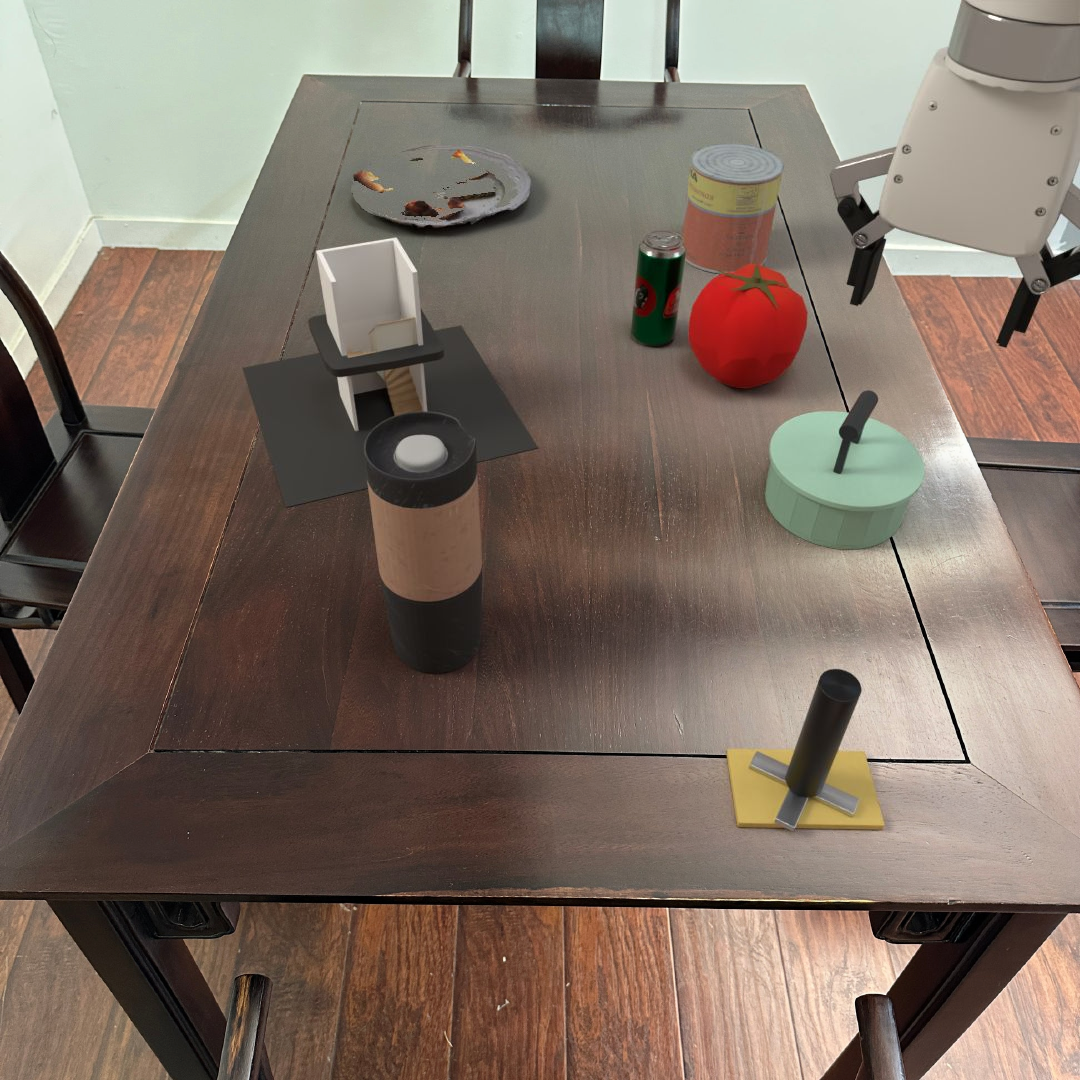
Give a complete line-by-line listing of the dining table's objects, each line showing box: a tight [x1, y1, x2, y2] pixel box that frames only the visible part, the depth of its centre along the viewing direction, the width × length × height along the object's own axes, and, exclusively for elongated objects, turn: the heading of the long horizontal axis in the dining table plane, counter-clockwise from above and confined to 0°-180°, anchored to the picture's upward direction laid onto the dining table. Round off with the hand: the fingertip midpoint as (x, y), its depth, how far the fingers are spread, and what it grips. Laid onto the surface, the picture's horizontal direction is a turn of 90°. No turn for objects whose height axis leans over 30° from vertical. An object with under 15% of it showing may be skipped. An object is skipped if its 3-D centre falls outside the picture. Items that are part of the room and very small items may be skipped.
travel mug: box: [364, 411, 483, 674], centre depth 71 cm, size 8×8×20 cm
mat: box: [726, 748, 885, 831], centre depth 68 cm, size 10×6×1 cm, turn 89°
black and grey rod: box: [749, 668, 863, 832], centre depth 64 cm, size 8×8×12 cm
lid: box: [768, 389, 926, 511], centre depth 85 cm, size 14×14×6 cm
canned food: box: [681, 142, 785, 275], centre depth 121 cm, size 11×11×12 cm
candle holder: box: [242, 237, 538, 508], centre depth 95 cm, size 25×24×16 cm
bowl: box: [764, 462, 912, 550], centre depth 89 cm, size 13×13×5 cm
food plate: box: [352, 145, 532, 229], centre depth 135 cm, size 25×23×4 cm
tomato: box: [687, 264, 808, 389], centre depth 102 cm, size 12×13×12 cm
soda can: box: [630, 229, 686, 347], centre depth 107 cm, size 5×5×12 cm
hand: (931, 316), depth 65 cm, fingers open, 9 cm apart
